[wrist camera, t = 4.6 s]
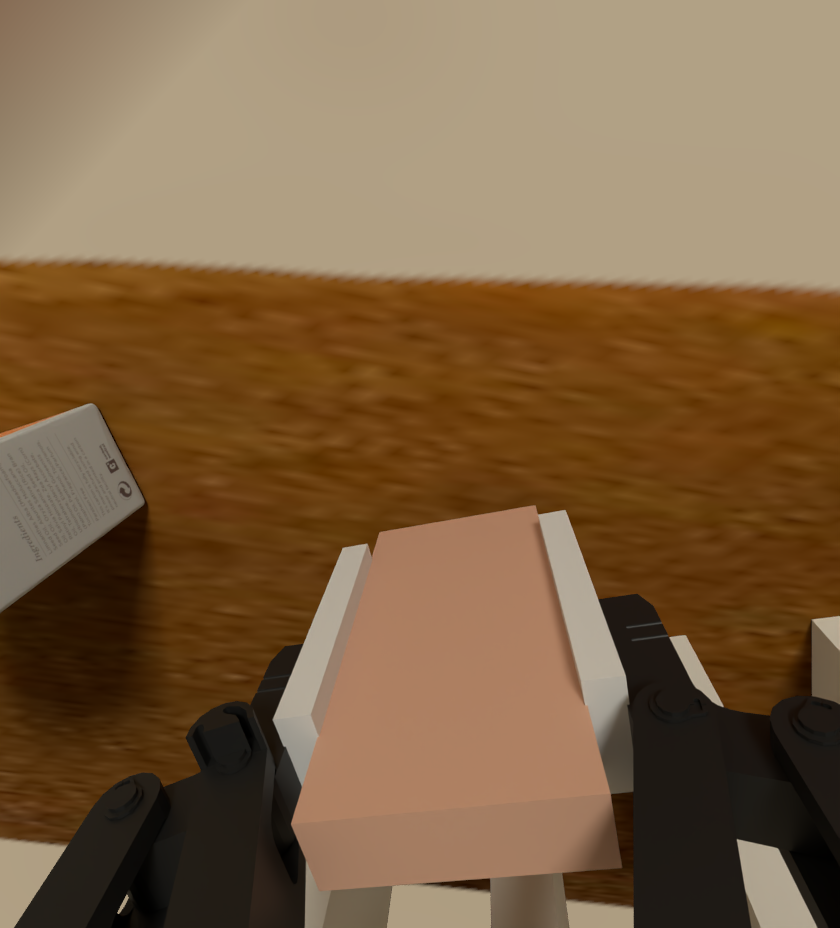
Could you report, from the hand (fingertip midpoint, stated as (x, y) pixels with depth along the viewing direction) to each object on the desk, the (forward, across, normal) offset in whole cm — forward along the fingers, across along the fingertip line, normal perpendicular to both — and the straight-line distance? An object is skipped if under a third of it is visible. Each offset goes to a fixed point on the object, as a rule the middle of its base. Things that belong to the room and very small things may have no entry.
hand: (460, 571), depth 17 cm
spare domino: (+2, 0, 0) cm, 2 cm away
